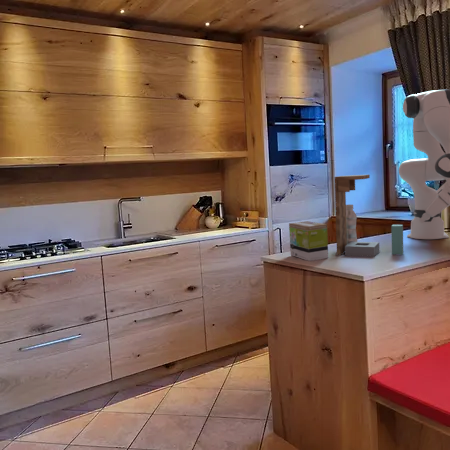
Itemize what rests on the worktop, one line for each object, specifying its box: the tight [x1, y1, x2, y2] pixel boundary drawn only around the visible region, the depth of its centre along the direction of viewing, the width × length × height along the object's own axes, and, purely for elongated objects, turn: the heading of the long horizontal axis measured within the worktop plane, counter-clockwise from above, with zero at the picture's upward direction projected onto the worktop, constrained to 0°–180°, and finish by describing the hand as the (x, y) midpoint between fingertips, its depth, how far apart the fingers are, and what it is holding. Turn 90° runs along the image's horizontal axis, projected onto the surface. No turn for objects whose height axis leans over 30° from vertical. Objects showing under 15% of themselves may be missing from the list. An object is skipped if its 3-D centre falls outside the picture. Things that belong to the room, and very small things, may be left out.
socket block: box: [344, 241, 381, 257], centre depth 196 cm, size 12×12×4 cm
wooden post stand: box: [334, 174, 371, 256], centre depth 196 cm, size 12×12×34 cm
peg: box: [390, 224, 404, 256], centre depth 191 cm, size 4×4×12 cm
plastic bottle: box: [346, 204, 359, 244], centre depth 210 cm, size 6×7×20 cm
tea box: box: [288, 220, 329, 262], centre depth 195 cm, size 15×10×15 cm
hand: (421, 220), depth 186 cm, fingers open, 8 cm apart
